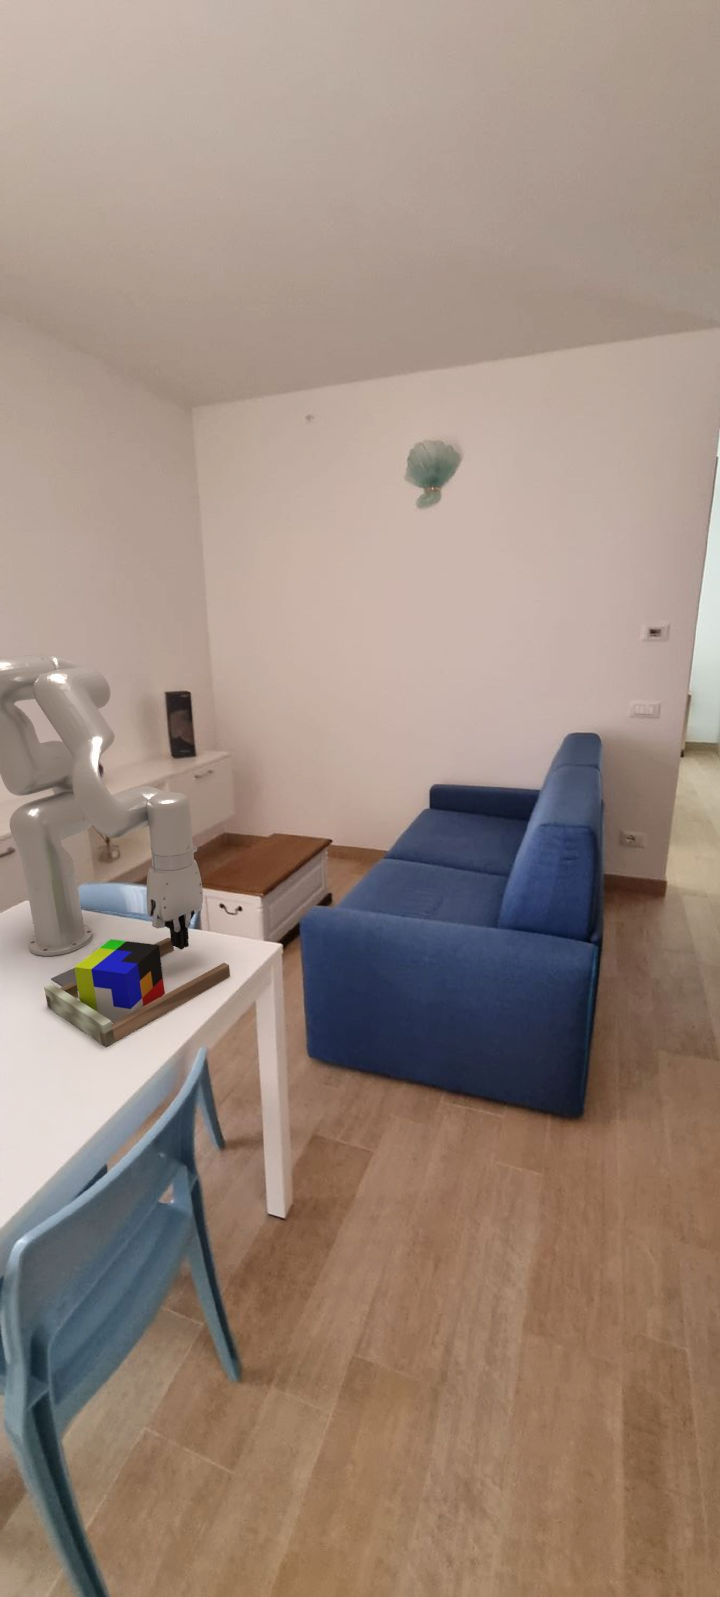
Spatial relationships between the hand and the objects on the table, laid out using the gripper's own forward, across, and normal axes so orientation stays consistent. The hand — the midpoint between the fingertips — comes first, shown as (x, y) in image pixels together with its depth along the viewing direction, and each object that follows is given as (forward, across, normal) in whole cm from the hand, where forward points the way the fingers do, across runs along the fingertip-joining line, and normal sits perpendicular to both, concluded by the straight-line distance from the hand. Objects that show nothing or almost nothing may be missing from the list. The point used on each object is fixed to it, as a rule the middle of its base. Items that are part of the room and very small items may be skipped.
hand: (180, 945), depth 126 cm
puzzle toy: (+5, +14, +2) cm, 15 cm away
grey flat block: (+5, +15, -13) cm, 20 cm away
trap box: (+5, +10, +1) cm, 11 cm away
